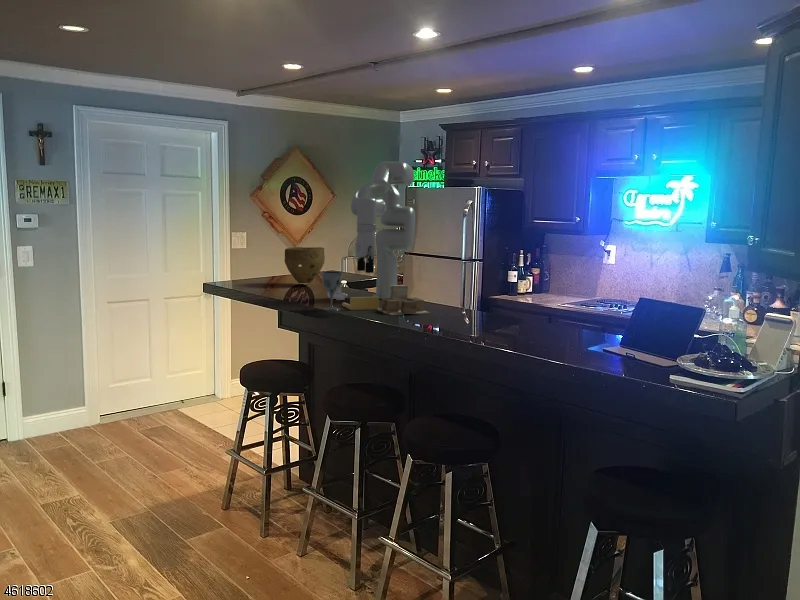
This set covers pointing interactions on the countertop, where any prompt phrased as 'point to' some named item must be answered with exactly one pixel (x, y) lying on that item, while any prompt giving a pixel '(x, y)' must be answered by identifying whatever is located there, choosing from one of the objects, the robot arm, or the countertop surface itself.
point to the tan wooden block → (362, 303)
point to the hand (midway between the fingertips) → (365, 271)
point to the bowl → (304, 262)
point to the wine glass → (331, 285)
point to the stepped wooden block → (401, 302)
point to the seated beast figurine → (338, 295)
